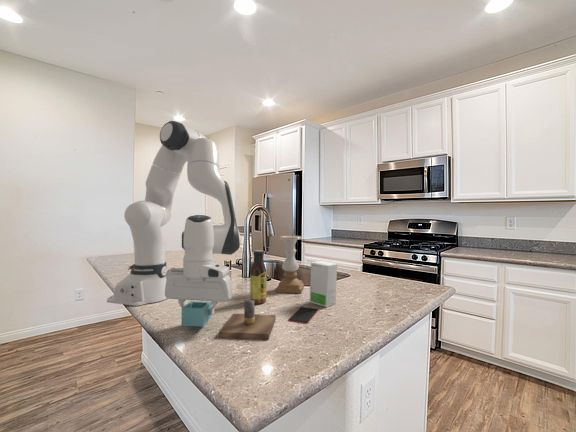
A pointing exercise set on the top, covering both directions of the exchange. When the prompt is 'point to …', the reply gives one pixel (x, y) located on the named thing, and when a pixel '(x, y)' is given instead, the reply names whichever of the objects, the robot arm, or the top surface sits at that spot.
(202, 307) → the teal collar
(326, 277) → the skincare box
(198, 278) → the robot arm
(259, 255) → the sauce bottle
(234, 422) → the top surface
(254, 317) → the post stand
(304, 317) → the smartphone
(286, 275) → the candle holder
